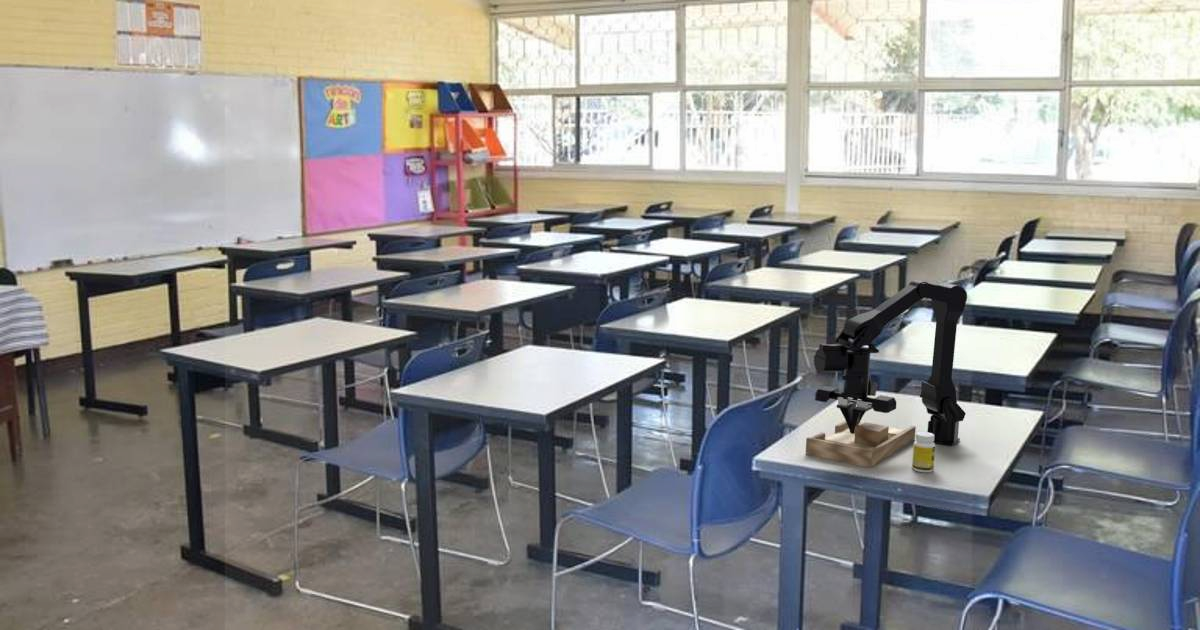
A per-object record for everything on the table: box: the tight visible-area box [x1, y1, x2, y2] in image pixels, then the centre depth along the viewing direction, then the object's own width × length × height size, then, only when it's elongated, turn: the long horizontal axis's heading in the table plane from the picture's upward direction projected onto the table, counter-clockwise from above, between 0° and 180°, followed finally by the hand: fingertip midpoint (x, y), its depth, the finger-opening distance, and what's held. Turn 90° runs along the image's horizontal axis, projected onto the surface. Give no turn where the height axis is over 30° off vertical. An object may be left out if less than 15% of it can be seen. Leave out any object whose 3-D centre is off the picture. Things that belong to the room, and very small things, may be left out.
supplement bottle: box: [911, 431, 936, 473], centre depth 236 cm, size 5×5×8 cm
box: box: [805, 419, 916, 468], centre depth 253 cm, size 16×29×4 cm, turn 143°
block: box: [854, 421, 890, 447], centre depth 250 cm, size 6×6×4 cm
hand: (852, 433), depth 252 cm, fingers closed
